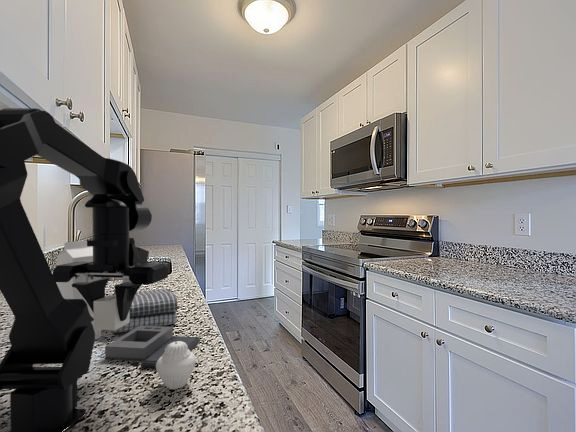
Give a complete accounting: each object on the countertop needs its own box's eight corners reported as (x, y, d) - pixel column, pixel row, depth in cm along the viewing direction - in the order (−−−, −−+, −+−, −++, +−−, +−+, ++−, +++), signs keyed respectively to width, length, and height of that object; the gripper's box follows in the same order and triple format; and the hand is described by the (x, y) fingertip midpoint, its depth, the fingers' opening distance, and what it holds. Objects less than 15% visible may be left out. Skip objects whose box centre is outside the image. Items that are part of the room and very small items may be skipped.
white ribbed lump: (192, 370, 54) (192, 331, 54) (199, 388, 48) (199, 344, 48) (154, 380, 51) (154, 338, 51) (157, 399, 45) (157, 353, 45)
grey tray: (144, 360, 58) (143, 347, 58) (105, 358, 58) (105, 345, 58) (172, 337, 68) (172, 326, 68) (139, 336, 69) (139, 325, 69)
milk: (56, 343, 66) (55, 241, 66) (85, 333, 71) (84, 239, 71) (73, 348, 63) (72, 242, 63) (102, 337, 69) (100, 240, 69)
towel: (110, 338, 69) (110, 304, 69) (110, 315, 85) (109, 287, 85) (180, 325, 77) (180, 294, 77) (167, 307, 92) (167, 281, 92)
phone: (172, 369, 54) (172, 363, 54) (141, 367, 55) (141, 361, 55) (199, 341, 66) (199, 336, 66) (173, 340, 67) (173, 335, 67)
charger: (114, 330, 53) (114, 301, 52) (93, 329, 53) (93, 300, 53) (129, 322, 56) (129, 295, 56) (109, 321, 57) (109, 294, 57)
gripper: (181, 231, 61) (182, 307, 62) (97, 230, 64) (97, 305, 64) (150, 234, 50) (150, 328, 51) (49, 234, 53) (50, 324, 53)
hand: (112, 319), depth 55 cm, fingers closed on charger, 4 cm apart
